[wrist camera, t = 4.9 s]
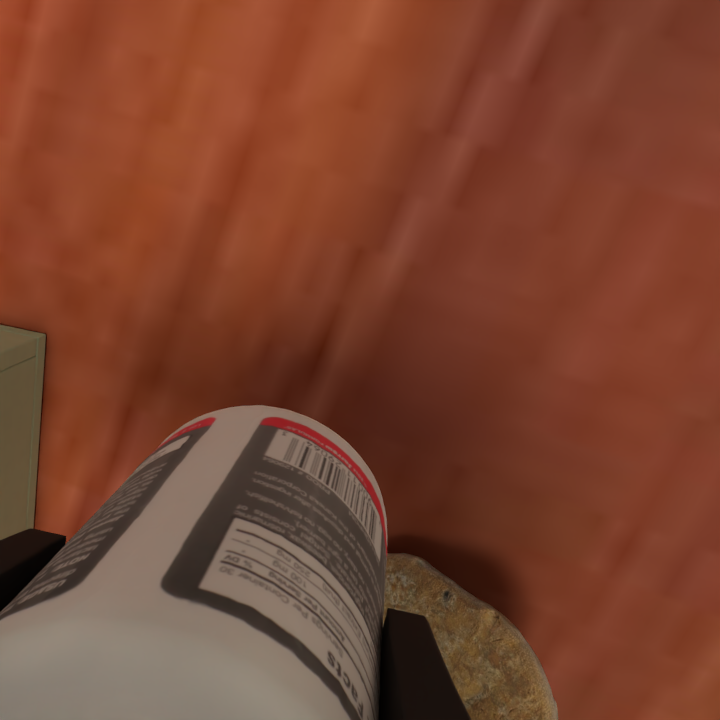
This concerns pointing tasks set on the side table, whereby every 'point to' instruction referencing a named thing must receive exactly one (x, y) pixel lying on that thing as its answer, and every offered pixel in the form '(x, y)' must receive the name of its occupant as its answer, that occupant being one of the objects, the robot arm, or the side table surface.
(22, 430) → the box
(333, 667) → the pill bottle
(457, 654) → the fossil
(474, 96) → the side table surface
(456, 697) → the robot arm
